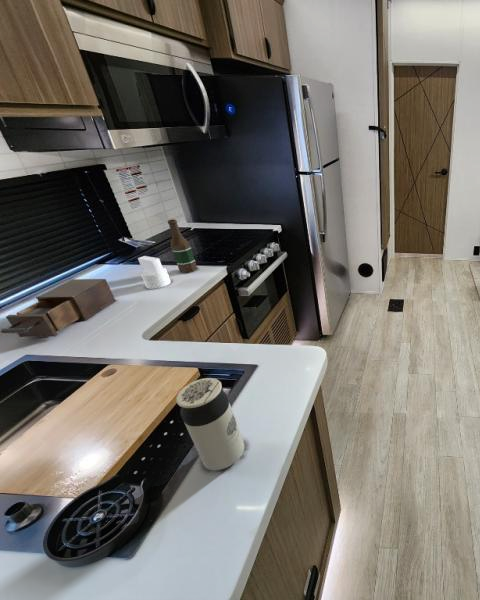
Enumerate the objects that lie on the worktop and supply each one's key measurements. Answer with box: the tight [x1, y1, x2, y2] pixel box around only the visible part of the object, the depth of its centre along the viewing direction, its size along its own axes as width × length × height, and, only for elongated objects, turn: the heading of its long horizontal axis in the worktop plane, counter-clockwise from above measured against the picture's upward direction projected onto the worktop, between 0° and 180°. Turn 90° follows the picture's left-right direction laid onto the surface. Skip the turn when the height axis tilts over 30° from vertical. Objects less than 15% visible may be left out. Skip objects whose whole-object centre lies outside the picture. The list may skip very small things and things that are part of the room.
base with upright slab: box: [137, 255, 172, 290], centre depth 141 cm, size 9×9×12 cm
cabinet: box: [35, 278, 117, 321], centre depth 122 cm, size 15×13×10 cm
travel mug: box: [175, 377, 245, 471], centre depth 66 cm, size 8×8×18 cm
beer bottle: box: [167, 219, 198, 274], centre depth 151 cm, size 8×8×24 cm
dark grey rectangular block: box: [26, 308, 54, 327], centre depth 111 cm, size 4×7×5 cm, turn 91°
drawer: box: [0, 299, 82, 338], centre depth 109 cm, size 18×11×8 cm, turn 1°
